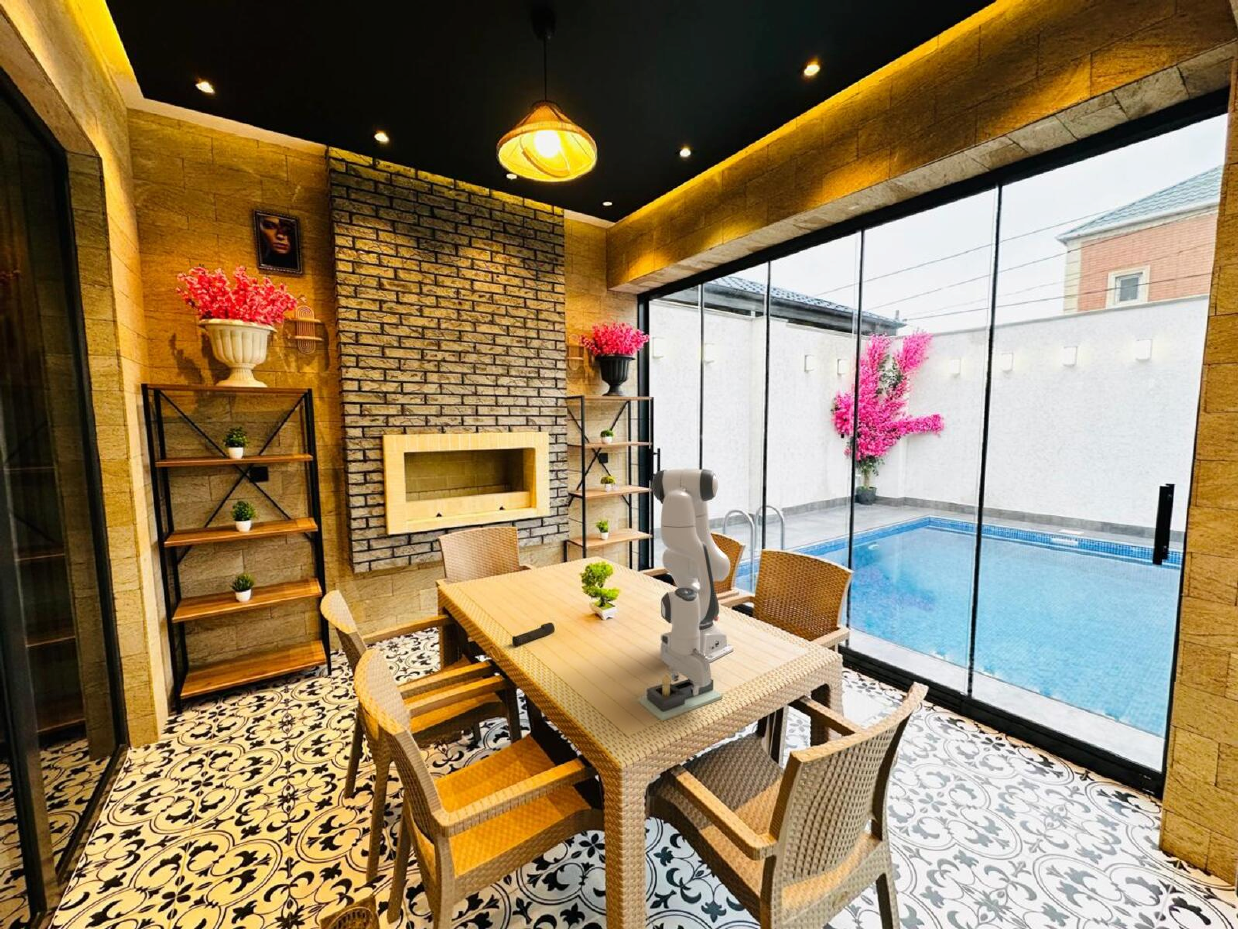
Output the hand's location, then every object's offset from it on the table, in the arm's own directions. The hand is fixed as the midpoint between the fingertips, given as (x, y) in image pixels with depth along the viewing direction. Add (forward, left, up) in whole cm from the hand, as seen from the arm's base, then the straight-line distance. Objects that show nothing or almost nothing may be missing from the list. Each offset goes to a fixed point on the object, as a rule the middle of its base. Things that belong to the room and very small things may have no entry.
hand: (684, 687), depth 152 cm
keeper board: (+2, 0, -4) cm, 4 cm away
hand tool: (+23, -64, -4) cm, 68 cm away
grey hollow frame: (+1, 0, -3) cm, 3 cm away
